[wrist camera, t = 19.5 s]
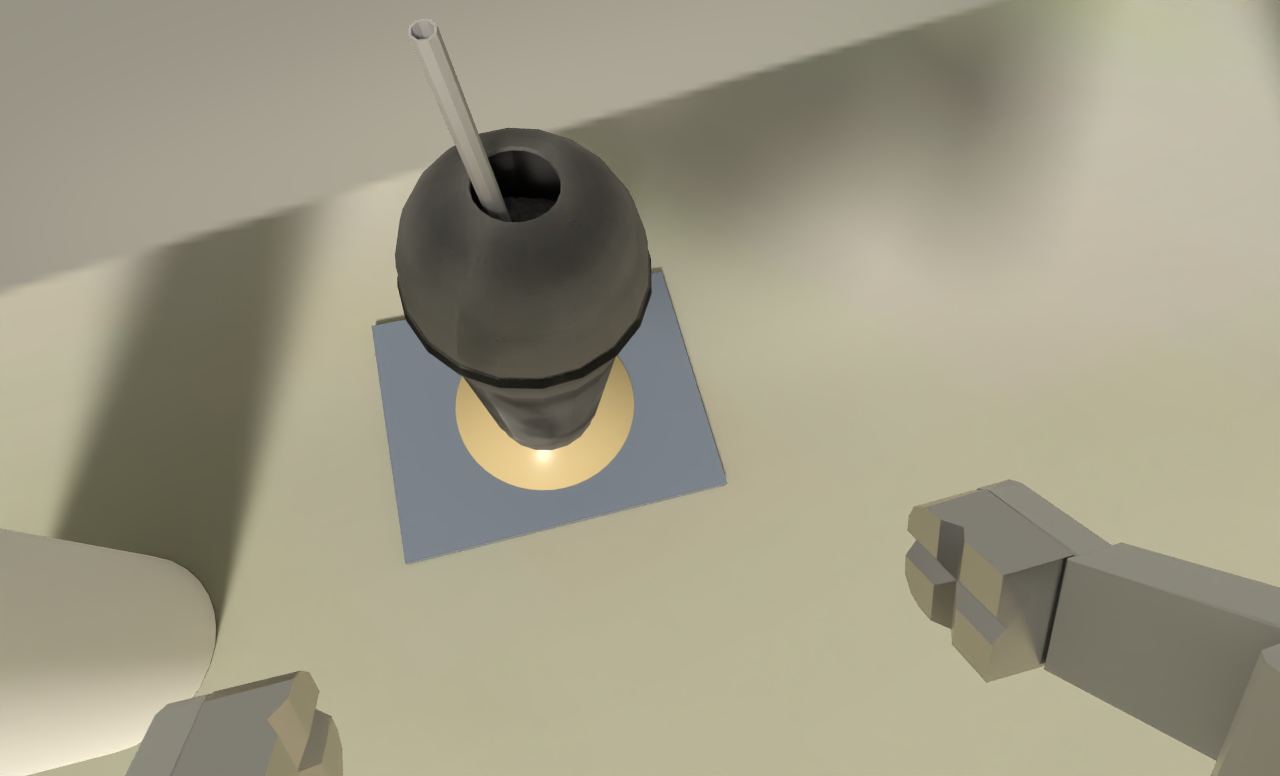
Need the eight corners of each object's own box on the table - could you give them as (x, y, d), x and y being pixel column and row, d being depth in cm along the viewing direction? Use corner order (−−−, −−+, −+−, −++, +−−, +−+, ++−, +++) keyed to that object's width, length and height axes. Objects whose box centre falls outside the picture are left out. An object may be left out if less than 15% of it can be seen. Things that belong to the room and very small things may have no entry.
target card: (660, 275, 33) (661, 270, 33) (725, 484, 30) (727, 482, 29) (374, 329, 31) (370, 325, 30) (407, 564, 27) (404, 563, 27)
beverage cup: (654, 437, 29) (785, 99, 11) (503, 511, 28) (351, 259, 9) (582, 306, 31) (590, -169, 13) (438, 367, 30) (202, -81, 11)
